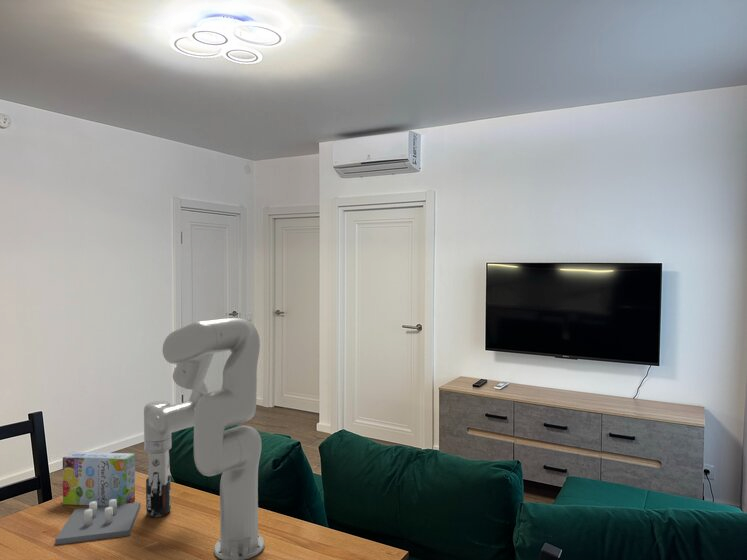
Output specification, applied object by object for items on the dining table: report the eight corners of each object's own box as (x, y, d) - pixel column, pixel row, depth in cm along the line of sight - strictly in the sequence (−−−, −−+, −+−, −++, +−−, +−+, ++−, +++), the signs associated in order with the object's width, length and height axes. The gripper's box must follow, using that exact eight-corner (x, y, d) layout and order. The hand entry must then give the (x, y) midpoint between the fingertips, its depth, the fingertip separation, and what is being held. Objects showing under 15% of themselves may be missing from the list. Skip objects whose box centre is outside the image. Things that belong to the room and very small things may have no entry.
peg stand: (129, 535, 143) (129, 515, 143) (55, 544, 138) (55, 524, 138) (140, 506, 160) (140, 489, 160) (75, 514, 156) (74, 495, 155)
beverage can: (151, 521, 151) (150, 479, 151) (142, 513, 156) (142, 473, 156) (174, 513, 156) (174, 473, 156) (165, 506, 161) (165, 467, 161)
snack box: (136, 500, 165) (135, 452, 165) (126, 508, 160) (125, 459, 159) (73, 497, 167) (72, 450, 167) (61, 505, 162) (60, 456, 162)
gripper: (168, 452, 148) (168, 514, 149) (174, 434, 165) (175, 489, 165) (139, 455, 146) (140, 518, 147) (148, 436, 163) (149, 492, 163)
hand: (158, 502), depth 156 cm, fingers open, 7 cm apart
